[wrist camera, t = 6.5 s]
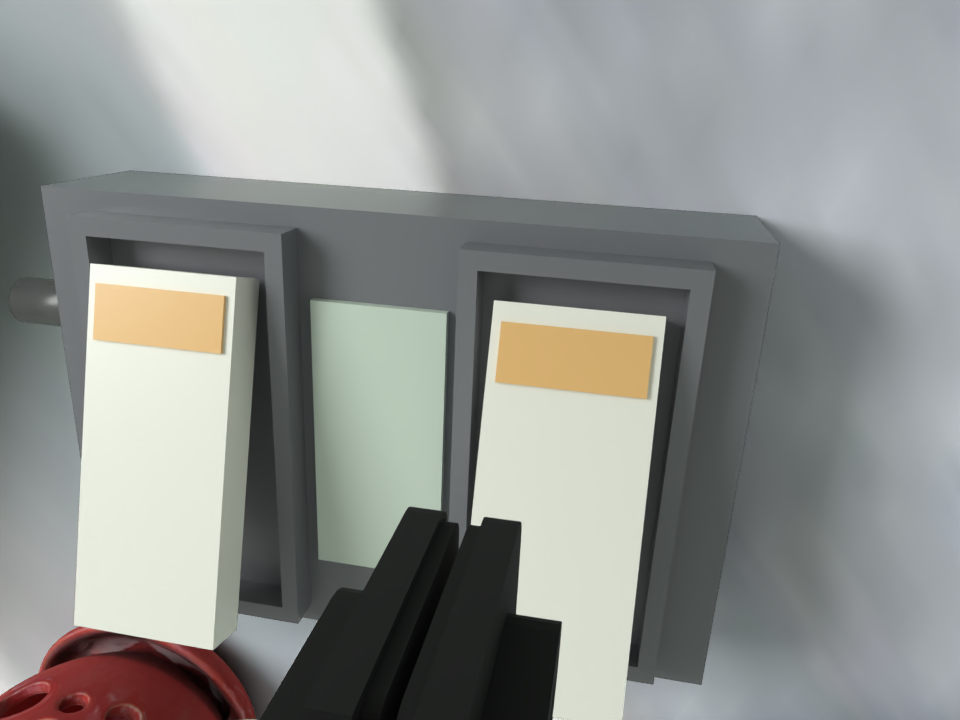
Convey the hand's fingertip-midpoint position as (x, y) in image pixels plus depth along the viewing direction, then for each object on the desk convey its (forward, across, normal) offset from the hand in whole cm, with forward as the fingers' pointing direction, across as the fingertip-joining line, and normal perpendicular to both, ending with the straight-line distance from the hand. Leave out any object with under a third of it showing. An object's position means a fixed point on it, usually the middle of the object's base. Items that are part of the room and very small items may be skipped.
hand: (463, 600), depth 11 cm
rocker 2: (+11, -1, +5) cm, 12 cm away
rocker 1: (+11, +12, +5) cm, 17 cm away
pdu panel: (+19, +7, +5) cm, 21 cm away
